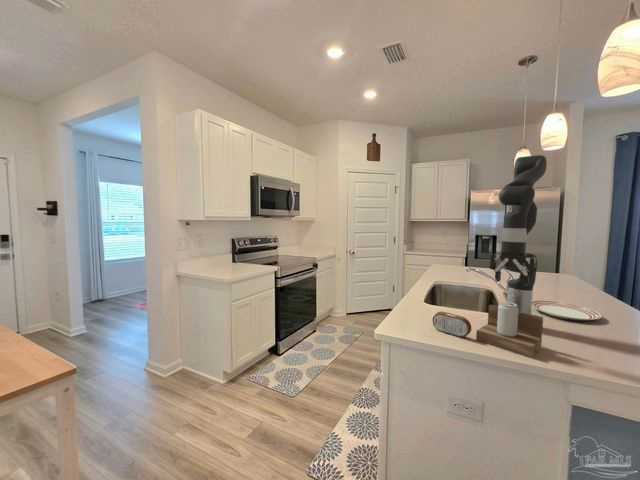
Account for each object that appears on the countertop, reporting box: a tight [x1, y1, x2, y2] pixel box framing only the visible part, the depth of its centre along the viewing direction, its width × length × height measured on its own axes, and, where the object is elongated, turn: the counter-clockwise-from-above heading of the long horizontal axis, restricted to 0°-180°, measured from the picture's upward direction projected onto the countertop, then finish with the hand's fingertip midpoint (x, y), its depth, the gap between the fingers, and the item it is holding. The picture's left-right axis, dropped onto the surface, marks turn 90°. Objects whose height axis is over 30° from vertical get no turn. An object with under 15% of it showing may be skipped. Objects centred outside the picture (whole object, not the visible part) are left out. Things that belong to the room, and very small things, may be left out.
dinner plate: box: [532, 299, 603, 321], centre depth 142 cm, size 28×27×3 cm
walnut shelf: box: [475, 304, 544, 359], centre depth 107 cm, size 12×18×12 cm, turn 39°
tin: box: [432, 311, 472, 338], centre depth 117 cm, size 15×3×8 cm, turn 45°
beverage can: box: [497, 301, 518, 337], centre depth 107 cm, size 6×6×12 cm
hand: (511, 283), depth 105 cm, fingers open, 8 cm apart
